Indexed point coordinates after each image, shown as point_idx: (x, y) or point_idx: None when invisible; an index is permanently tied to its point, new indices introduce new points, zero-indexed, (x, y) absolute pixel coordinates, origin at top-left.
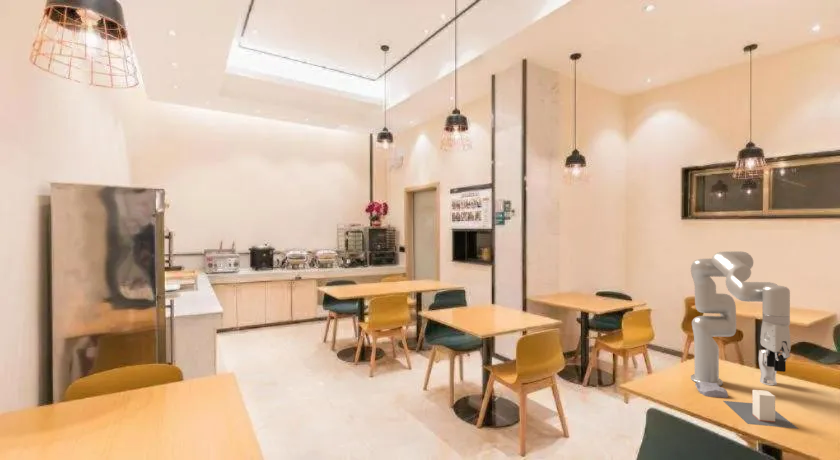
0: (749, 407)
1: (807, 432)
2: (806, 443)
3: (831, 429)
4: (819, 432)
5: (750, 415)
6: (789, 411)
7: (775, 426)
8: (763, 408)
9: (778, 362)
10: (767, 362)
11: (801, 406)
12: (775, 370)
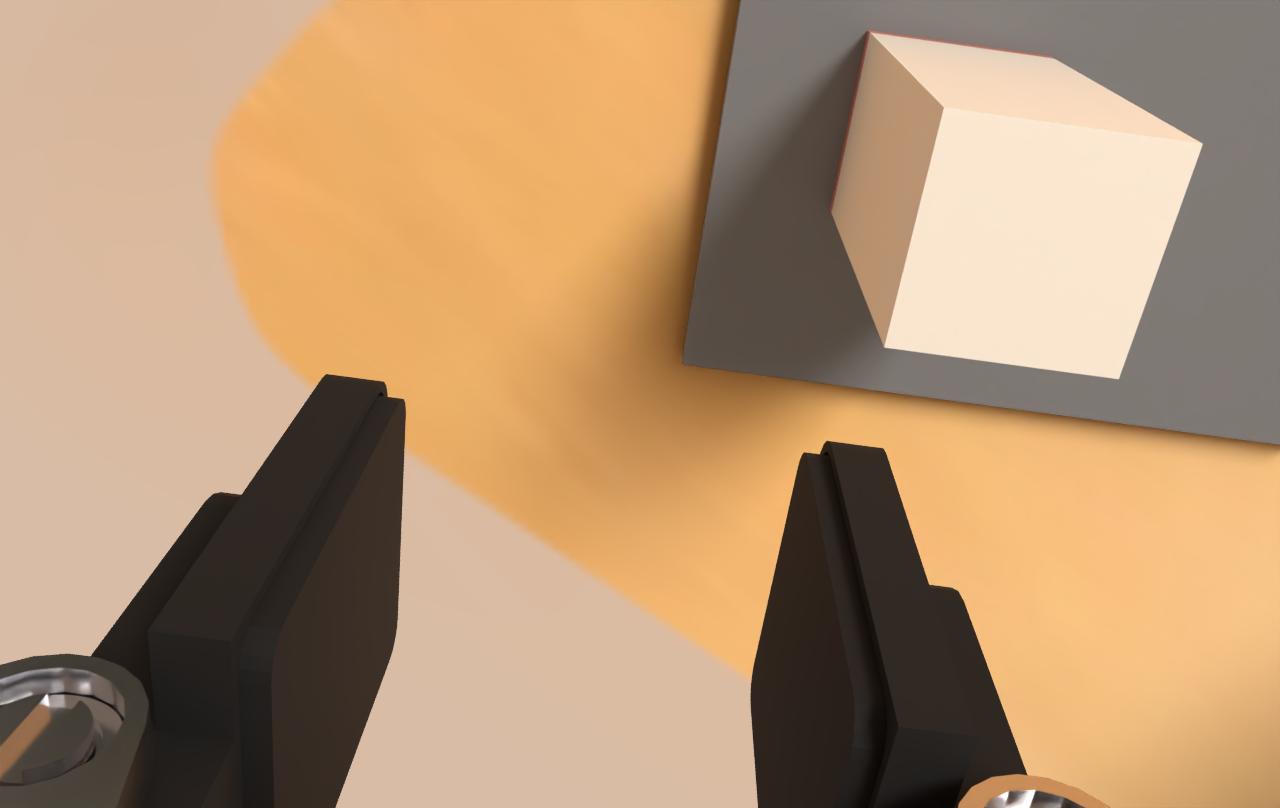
0: (1268, 166)
1: (655, 415)
2: (396, 230)
3: (740, 666)
4: (667, 525)
5: (1030, 9)
6: (1142, 577)
7: (720, 135)
8: (886, 115)
9: (112, 658)
10: (857, 515)
11: (1239, 759)
12: (333, 389)
